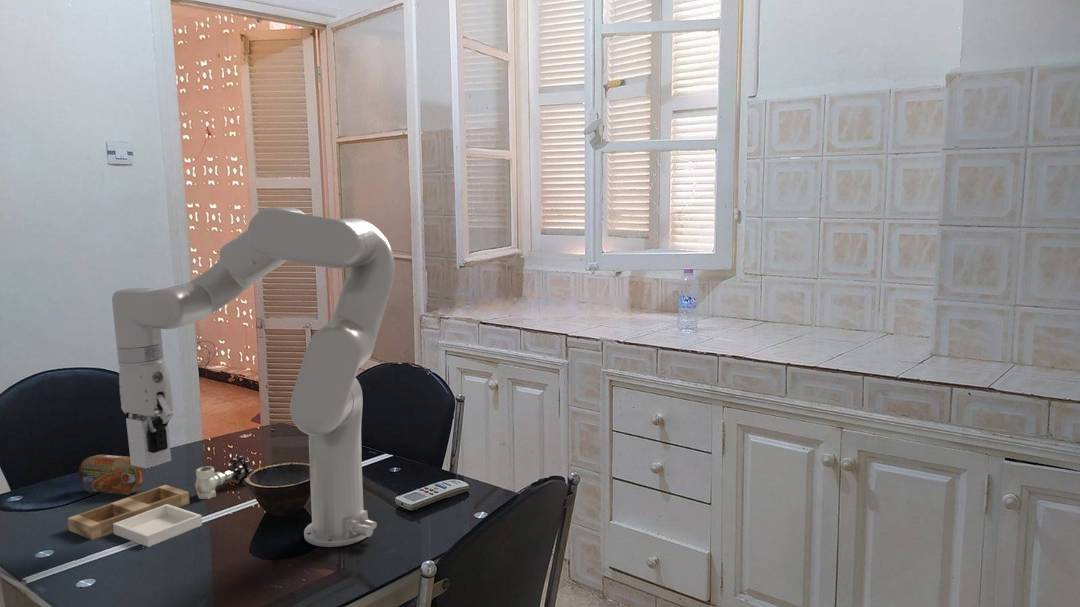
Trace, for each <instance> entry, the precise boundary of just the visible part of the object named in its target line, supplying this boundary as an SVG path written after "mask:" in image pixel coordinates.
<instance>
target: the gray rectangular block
mask: <svg viewBox="0 0 1080 607" xmlns="http://www.w3.org/2000/svg"><path fill="white" fill-rule="evenodd" d="M154 413H155V414H158V412H156V411H154ZM157 419H159V417H155V418H154V422H156V421H157ZM125 420H126V422H125V423H126V431H127V441H128V448H129V449H128V450H129V457H130V461H131V465H134V466H138V467H142V469H146V470H147V469H149V468H152V467H157V466H159V465H161V464H165V463H168V462H171V461H172V454H171V443H170V441H171V440H170V433H169V423H168V424H167V426H168V427H167V429H166V434H167V445H168V448H167V449H165V450H162V451H159V452H156V453H151V452H150V446H149V436H148V432H151V431H150V427H149V424H148V420H147V417H146V416H141V415H137V416H134V417H129V418H127V417H126V418H125Z"/></svg>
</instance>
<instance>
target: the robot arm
mask: <svg viewBox="0 0 1080 607" xmlns="http://www.w3.org/2000/svg"><path fill="white" fill-rule="evenodd" d="M287 262H292V263H293V262H294V263H299V264H304V265H310V266H316V267H322V268H326V269H337V270H339V269H340V270H341V269H347V268H348V271H347V276H346V279H345V281H344V282H343V285H342V288H341V291H340V293H339V297H338V301H337V305H336V307H335V311H334V313H333V315H332V318H331V320H330V321H329V322H328V323H327V324H324V325H323V326H322V327H320V328H319V329H318V330H317V331H316V332H315V333H314V334H313V335H312V337H311V339H310V340H309V342H308V344H307V347H306V350H305V351H304V356H303V358H302V361H301V366H300V368H299V371H298V374H297V377H296V381H295V384H294V387H293V391H292V395H291V399H290V404H289V412H290V417H291V420H292V422H293V423H294V426H295V427H297V429H299V430H300V431H301V432H302V433H304V434H306V435H308V456H309V457H308V460H309V481H310V484H309V485H310V499H311V500H310V502H311V503H310V504H311V507H310V508H311V523H309V524H307V526H306V527H305V528H304V530H303V538H304V540H305V541H306V542H307V543H309V544H311V545H314V546H316V547H324V548H326V547H327V548H333V547H335V548H336V547H337V548H338V547H345V546H349V545H352V544H356V543H359V542H360V541H363V540H365V539H366V538H370V537H371V536H372V535H373V533H374V530H375V529H376V528H377V525H378V523H377V522H376V521H374V520H371V519H370V518H369V517H368V510H366V509H364V492H363V490H364V489H363V469H362V468H363V464H362V462H363V461H362V453H363V452H362V418H363V404H364V402H363V400H364V399H363V389H362V386H361V384H360V381H359V380H358V379H357V374H358V371H359V369H360V367H362V366H363V365H364V364H365V363H366V362H367V361H368V360H369V359H370V358H371V357H372V354H373V353H374V348H375V345H376V341H377V337H378V334H379V332H380V327H381V324H382V321H383V318H384V314H385V310H386V308H387V303H388V300H389V297H390V293H391V291H392V287H393V283H394V278H395V272H396V270H395V269H396V267H395V266H396V264H395V256H394V253H393V249H392V246H391V244H390V242H389V241H388V239H387V237H386V236H385V235H384V233H383V232H382V231H380V229H379V228H378V227H376V226H375V225H374V224H372V223H371V222H369V221H367V220H365V219H362V218H357V217H350V218H349V217H348V218H330V217H325V216H317V215H312V214H307V213H305V212H304V211H302V210H300V209H299V208H296V207H291V206H272V207H266V208H263V209H261V210H260V211H258V212H256V213H255V215H253V217H252V218H251V219H250V221H249V223H248V226H247V229H246V230H245V231H244V232H241V233H240V234H238V236H236V237H234V238H233V239H232V240H230V241H228V242H227V243H225V244H224V245H223V246H222V247H221V248H220V250H219V259H218V260H217V262H215V264H213V265H212V266H211V267H210V268H208V269H207V270H206V271H204V272H203V273H201V274H199V275H198V276H196V277H195V278H193V279H192V280H191V281H189V282H187V283H184V284H180V285H179V284H178V285H174V286H170V287H165V288H160V289H156V290H155V289H154V288H150V287H133V288H123V289H119V290H116V291H115V292H114V293H113V294H112V295H111V296H112V297H111V304H112V313H113V323H114V333H115V334H114V335H115V342H116V343H115V344H116V351H117V362H118V366H119V367H118V369H119V373H118V375H119V376H118V378H119V380H118V381H119V382H118V384H119V397H120V404H121V405H120V409H121V410H122V413H124V414H125V417H126V418H129V417H134V416H137V415H141V416H146V417H147V420H148V424H149V427H150V431H151V432H148V436H149V446H150V452H151V453H156V452H159V451H162V450H165V449H167V448H168V445H167V434H166V429H167V427H168V428H169V422H170V420H171V419H172V417H173V416H174V414H173V410H174V405H175V404H174V397H173V390H172V385H171V378H170V374H169V370H168V367H167V364H166V360H165V361H164V359H165V358H164V350H163V349H164V348H163V347H164V346H163V337H162V330H174V329H178V328H182V327H184V326H187V325H190V324H193V323H196V322H200V321H202V320H205V319H206V318H208V317H210V316H212V315H213V314H214V313H216V312H217V311H219V310H220V309H222V308H223V307H224V306H226V305H228V304H229V303H231V302H232V301H234V300H235V299H236V298H238V297H239V296H240V295H241V294H242V293H244V292H245V291H246V290H248V289H249V288H251V286H252V285H253V284H255V283H256V282H258V281H260V280H261V279H262V278H264V277H265V276H267V275H268V274H270V273H272V271H274V270H276V269H277V268H278V267H280V266H282V265H283V264H285V263H287ZM154 412H155V413H156V412H157V413H158V414H155V413H154ZM155 417H159V419H157V421H156V422H154V418H155ZM167 424H168V426H167Z"/></svg>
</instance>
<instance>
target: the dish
mask: <svg viewBox="0 0 1080 607" xmlns="http://www.w3.org/2000/svg"><path fill="white" fill-rule="evenodd" d="M201 526H203V516H202V514H199V513H195V512H193V511H190V510H187V509H185V508H184V509H183V508H181V507H179V508H178V507H175V506H172V505H169V504H166V505H163V506H160V507H157V508H155V509H152V510H149V511H146V512H144V513H141V514H138V515H135V516H133V517H130V518H127V519H124V520H122V521H119V522H116V523H113V530H114V532H113V535H115V536H118V537H120V538H123V539H126V540H128V541H131V542H134V543H136V544H138V545H139V544H140V545H141V546H144V547H146V548H150V547H152V546H154V545H157V544H159V543H162V542H164V541H167V540H169V539H172V538H174V537H177V536H180V535H182V534H184V533H186V532H188V531H192V530H194V529H196V528H199V527H201Z"/></svg>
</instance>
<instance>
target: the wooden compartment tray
mask: <svg viewBox="0 0 1080 607" xmlns="http://www.w3.org/2000/svg"><path fill="white" fill-rule="evenodd" d="M189 494H190V492H189V491H187V490H184V489H182V488H177V487H175V486H171V485H168V484H163V485H160V486H158V487H155V488H152V489H149V490H146V491H143V492H139V493H137V494H134V495H131V496H128V497H124V498H122V499H119V500H116V501H114V502H111V503H107V504H104V505H101V506H99V507H95V508H93V509H90V510H86V511H84V512H81V513H78V514H75V515H73V516H70V517H67V525H68V526H67V527H68V531H69V532H70V533H71V532H72V533H74V534H76V535H78V536H81V537H84V538H87V539H89V540H95V539H98V538H100V537H104V536H106V535H109V534H111V533H114V530H113V523H116V522H119V521H122V520H124V519H127V518H130V517H133V516H135V515H138V514H141V513H144V512H146V511H149V510H152V509H155V508H157V507H160V506H163V505H166V504H169V505H172V506H175V507H178V508H181V507H183V506H186V505H189V504H190V495H189Z"/></svg>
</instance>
